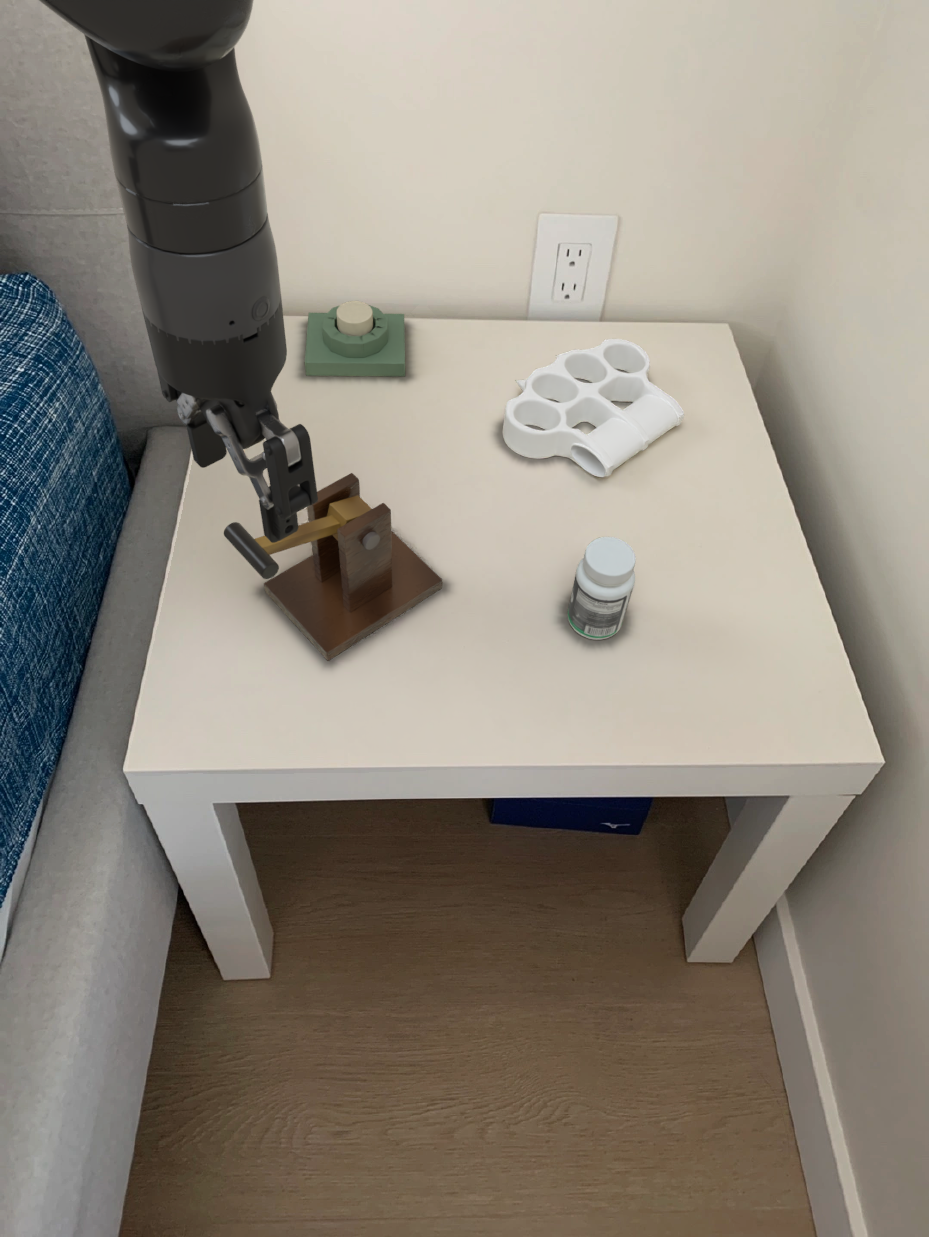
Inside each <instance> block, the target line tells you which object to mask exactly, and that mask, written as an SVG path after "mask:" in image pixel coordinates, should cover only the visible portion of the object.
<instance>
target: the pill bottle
mask: <svg viewBox="0 0 929 1237" xmlns="http://www.w3.org/2000/svg"><path fill="white" fill-rule="evenodd" d="M636 557H637V556H636V553H635V551H634V549H633V547H632V546H631V545H630V544H629V543H627V541H625V540H623V539H620V538H618V537H615V536H601V537H597V538H595V539H593V540H592V541H591V542H590V543H588V545H587V546H586V548H585V551H584V554H583V557H582V558H581V559H580V561H579V562H578V564H577V567H576V570H575V574H574V580H573V585H572V588H571V594H570V598H569V603H568V607H567V621H568V623H569V625H570V626H571V628H572V629H573V631H575V632H576V633H577V634H578V635H579V636H582V637H583V638H586V639H589V640H596V641H599V640H606V639H609V638H612V637H613V636H614V635H616V634H617V633H618V632H619V631H620V630H621V629H622V625H623V624H624V620H625V617H626V613H627V609H628V606H629V602H630V599H631V597H632V593H633V590H634V588H635V584H636V573H635V566H636V563H637V562H636V560H637V558H636Z"/></svg>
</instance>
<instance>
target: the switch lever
mask: <svg viewBox="0 0 929 1237" xmlns="http://www.w3.org/2000/svg"><path fill="white" fill-rule="evenodd" d="M371 509H373V508H372V507H371V506H370V505H369V504H368V503H367V502H365V500H364V499H362V498H361V496H360V497H359V496H358V495H357V496H353V497H350V498H347V499H343V500H340V501H337V502H333V503H330V504H329V509H328V513H327V517H324V518H320V519H317V520H314V521H311V522H309V521H308V522H304V523H301V524H298V530H297V531H296V532H295V533H293V534H291V535H289V536H287V537H286V538H284V539H282V540H280V541H277V542H275V543H272V542H271V541H270V540H269V539H268V538H267V537H266V536H265V535H263V536H259V537H256V538H254V537H253V535H252V534H250V533H249V532H248V531H247V529H246V528H244V527H243V525H242V524H241V523H240V522H237V521H234V522H231V523H229V524H228V525H227V526H226V527H225V528H224V530H223V536H224V537H225V539H226V540H227V541H228V542H229V543H230V544H231V545H232V547H234V548H235V550H236V551H237V552H238V553H239V554H240V555H241V556H242V557H243V558H244V560H246V562H247V563H248V564H249V565H250V566H251V567H252V568H253V569H254V570H255V571H256V573H257V574H258V575H259V576H260V577H261V578H262V579H264V580H270V579H272V578H274V577H276V576H277V573H278V572H279V569H280V565H279V563H278V562H276V561H275V560H274V558H273V557H272V556H271V555H275V554H277V553H280V552H283V551H287V550H290V549H292V548H296V547H298V546H302V545H305V544H308V543H311V541H314V540H318V539H321V538H324V537H327V536H330V535H332V536H333V537H334V538H335V539H336V540H337V541H338V533H337V529H338V528H340V527H342V526H343V525H345V524H347V523H349V522H350V521H352V520H354V519H356V518H357V517H359V516H361V515H363V514H364V513H366V512H368V511H369V510H371Z"/></svg>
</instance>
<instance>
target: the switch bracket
mask: <svg viewBox="0 0 929 1237" xmlns="http://www.w3.org/2000/svg"><path fill="white" fill-rule="evenodd" d="M317 495H318V502H316V503H314V504H313V505H309V506H308V507H306V512H307V519H308V522H311V521H314V520H317V519H320V518H324V517H327V513H328V509H329V504H330V503H333V502H337V501H340V500H343V499H347V498H350V497H353V496H357V495H358V496H359V497H360V498H361V487H360V479H359V478H358V477H357V476H356V475H355V474H354V473H353V472H350V473H348V474H347V475H345V476H343V477H341V478H339V479H337V480H336V481H333V482H332V483H330V484H328V485H327V486H325V487H323V488H321V489H320V490H317ZM337 533H338V541H337V540H336V539H335V538H334V537H333V536H332V535H330V536H327V537H324V538H321V539H318V540H314V541H311V542H310V544H311V552H312V553H311V554H312V555H310V556H308V557H307V558H305V559H303V560H301V561H300V562H298V563H296V564H295V565H292V566H291V567H289V568H288V569H286V570H284V571H283V572H281V573H279V574H278V575H277V574H276V575H275V576H273V577H272V578H270V579H268V580H267V581H265V582H264V583H263V588H264V592H265V594H266V595H267V596H268V597H269V598H270V599H271V600H272V601H273V602H274V603H275V605H276V606H277V607H278V608H279V609H280V611H282V612H283V613H284V615H285V616H286V617H288V620H290V621H291V623H293V625H295V627H297V629H298V630H299V631H300V632H301V633H302V634H303V636H305V638H306V639H307V640H308V641H309V642H310V643H311V644H312V646H314V648H315V649H316V650H317V651H318V652H319V653H320V655H322V656H323V657H324V659H325V660H326V661H330V660H332V659H333V658H335V657H337V656H338V655H340V654H342V653H343V652H344V651H346V650H348V649H349V648H351V647H352V646H354V645H356V644H357V643H358V642H360V641H361V640H363V639H365V638H366V637H368V636H369V635H372V633H374V632H375V631H377V630H379V629H381V628H382V627H384V626H385V625H387V624H388V623H390V622H391V621H393V620H395V619H396V618H398V617H399V616H401V615H402V614H404V613H406V612H407V611H409V610H410V609H413V607H415V606H416V605H418V604H419V603H421V602H422V601H423V602H424V600H426V599H427V598H429V597H430V596H432V595H433V594H435V593H437V592H438V591H440V590H441V589H442V588H443V579H442V578H441V577H440V576H439V575H438V574H437V573H436V572H435V571H434V570H433V569H432V568H431V567H430V566H429V565H428V564H427V563H426V562H425V561H424V560H423V559H421V558H420V557H419V556H418V555H417V554H416V553H415V552H414V551H413V549H411V548H410V547H409V546H408V545H407V544H406V543H405V542H404V541H403V540H402V539H401V538H400V537H398V535H396V534H395V533H394V532H393V531H392V509H391V508H390V507H389V506H387V504H386V503H384V502H382V503H380V504H378V505H376V506H375V507H373V508H372V509H371V510H369V511H368V512H366V513H364V514H363V515H361V516H359V517H357V518H356V519H354V520H352V521H350V522H349V523H347V524H345V525H343V526H342V527H340V528H338V529H337Z"/></svg>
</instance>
